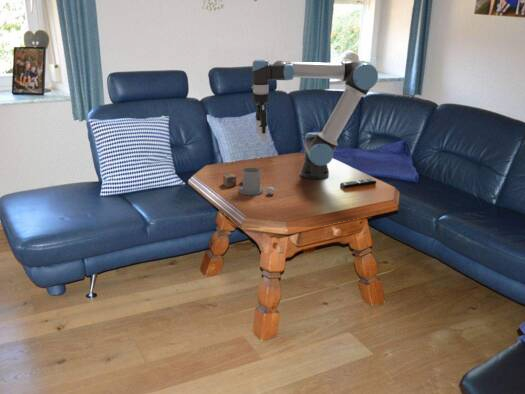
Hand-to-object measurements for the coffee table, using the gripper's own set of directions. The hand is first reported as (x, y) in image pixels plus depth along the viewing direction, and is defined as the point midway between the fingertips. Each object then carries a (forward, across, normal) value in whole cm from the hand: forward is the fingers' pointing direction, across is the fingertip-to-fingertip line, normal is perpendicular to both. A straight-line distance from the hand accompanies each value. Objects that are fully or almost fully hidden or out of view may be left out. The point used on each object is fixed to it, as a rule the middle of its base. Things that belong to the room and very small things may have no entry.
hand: (261, 136), depth 253 cm
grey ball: (+24, +18, +1) cm, 30 cm away
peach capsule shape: (+24, -2, -8) cm, 25 cm away
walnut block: (+24, +2, -17) cm, 29 cm away
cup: (+23, +12, -7) cm, 27 cm away
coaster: (+24, +12, -7) cm, 28 cm away
